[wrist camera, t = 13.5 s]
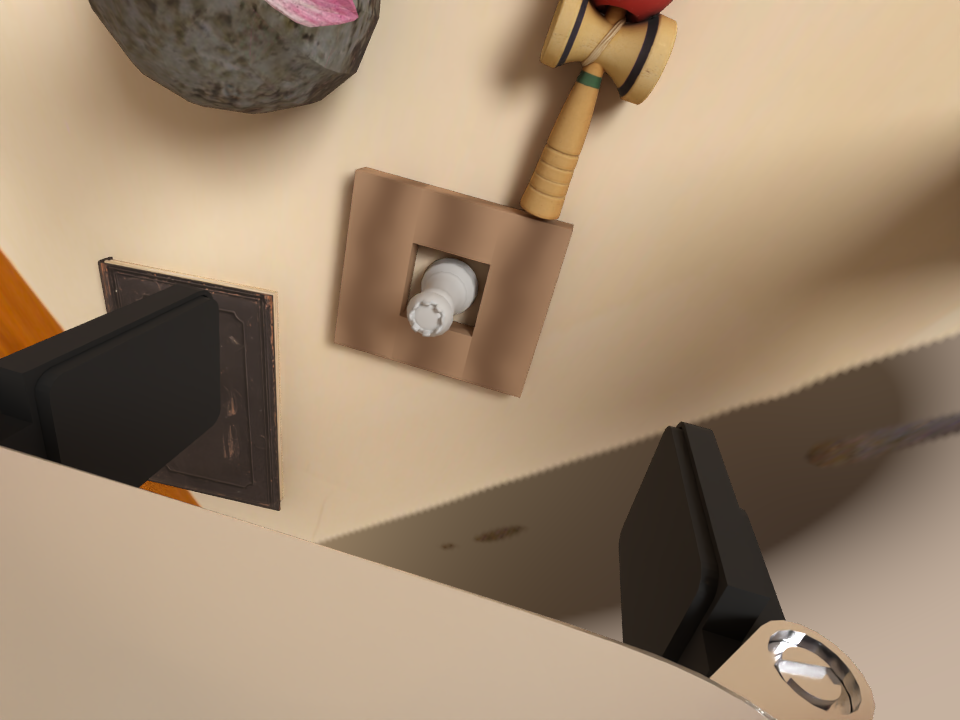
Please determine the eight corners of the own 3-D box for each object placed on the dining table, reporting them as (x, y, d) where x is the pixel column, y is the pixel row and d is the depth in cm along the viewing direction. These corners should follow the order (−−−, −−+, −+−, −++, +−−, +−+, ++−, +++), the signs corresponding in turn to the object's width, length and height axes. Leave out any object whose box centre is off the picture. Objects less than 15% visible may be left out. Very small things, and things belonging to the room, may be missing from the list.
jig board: (573, 224, 40) (572, 230, 38) (522, 386, 46) (520, 397, 44) (365, 166, 41) (355, 169, 39) (343, 333, 47) (333, 342, 45)
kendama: (601, 221, 41) (733, -73, 31) (582, 246, 36) (733, -97, 26) (509, 181, 42) (606, -115, 32) (478, 199, 37) (582, -146, 27)
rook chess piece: (430, 248, 42) (400, 278, 35) (485, 265, 42) (466, 298, 35) (419, 300, 44) (388, 338, 37) (471, 317, 44) (450, 358, 37)
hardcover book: (284, 287, 47) (271, 296, 45) (289, 496, 57) (278, 511, 55) (113, 254, 48) (92, 261, 46) (148, 464, 58) (132, 477, 56)
